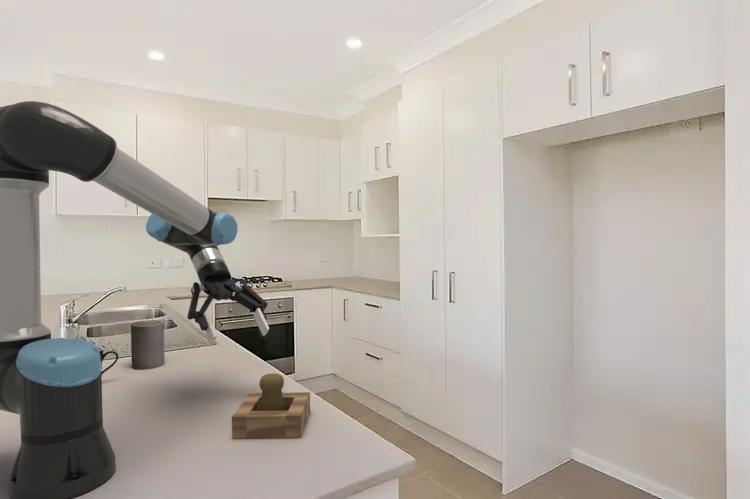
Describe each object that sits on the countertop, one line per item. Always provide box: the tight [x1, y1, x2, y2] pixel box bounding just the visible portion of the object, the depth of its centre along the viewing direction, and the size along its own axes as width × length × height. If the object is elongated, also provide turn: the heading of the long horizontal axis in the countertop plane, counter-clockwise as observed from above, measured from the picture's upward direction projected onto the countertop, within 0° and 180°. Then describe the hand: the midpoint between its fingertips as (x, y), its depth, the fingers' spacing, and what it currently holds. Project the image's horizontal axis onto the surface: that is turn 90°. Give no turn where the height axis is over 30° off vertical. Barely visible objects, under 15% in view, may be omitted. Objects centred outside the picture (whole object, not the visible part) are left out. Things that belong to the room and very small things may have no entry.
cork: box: [258, 372, 285, 411], centre depth 102 cm, size 6×6×11 cm
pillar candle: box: [130, 319, 166, 370], centre depth 150 cm, size 10×10×15 cm
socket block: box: [231, 391, 311, 440], centre depth 102 cm, size 14×14×4 cm
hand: (241, 336), depth 111 cm, fingers open, 13 cm apart
